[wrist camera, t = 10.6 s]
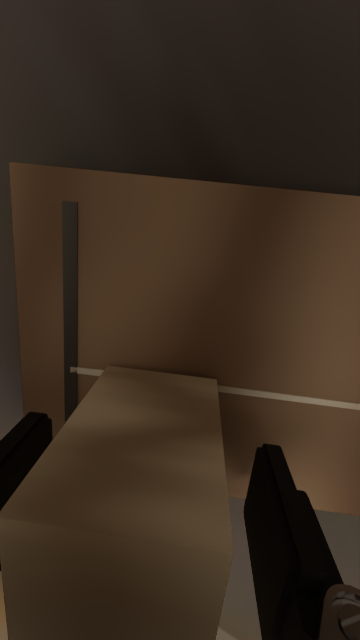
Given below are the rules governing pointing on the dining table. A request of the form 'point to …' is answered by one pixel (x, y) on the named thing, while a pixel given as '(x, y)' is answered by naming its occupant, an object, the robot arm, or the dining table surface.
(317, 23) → the dining table surface
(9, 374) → the dining table surface
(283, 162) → the dining table surface
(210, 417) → the tan cardboard box
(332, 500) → the walnut board
